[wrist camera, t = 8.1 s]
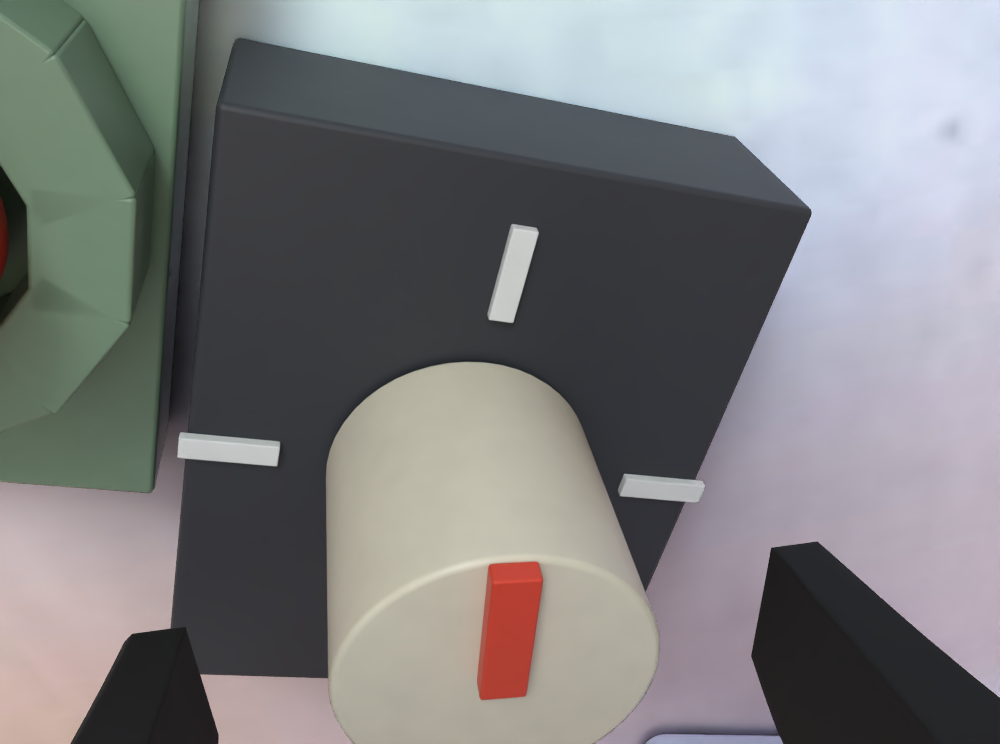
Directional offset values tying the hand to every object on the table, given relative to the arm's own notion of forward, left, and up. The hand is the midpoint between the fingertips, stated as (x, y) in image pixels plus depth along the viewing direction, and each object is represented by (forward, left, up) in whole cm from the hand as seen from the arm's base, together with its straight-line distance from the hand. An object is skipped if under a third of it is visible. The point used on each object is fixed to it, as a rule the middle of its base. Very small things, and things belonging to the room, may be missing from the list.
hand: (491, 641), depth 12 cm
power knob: (0, 0, -3) cm, 3 cm away
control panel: (0, 0, -6) cm, 6 cm away
